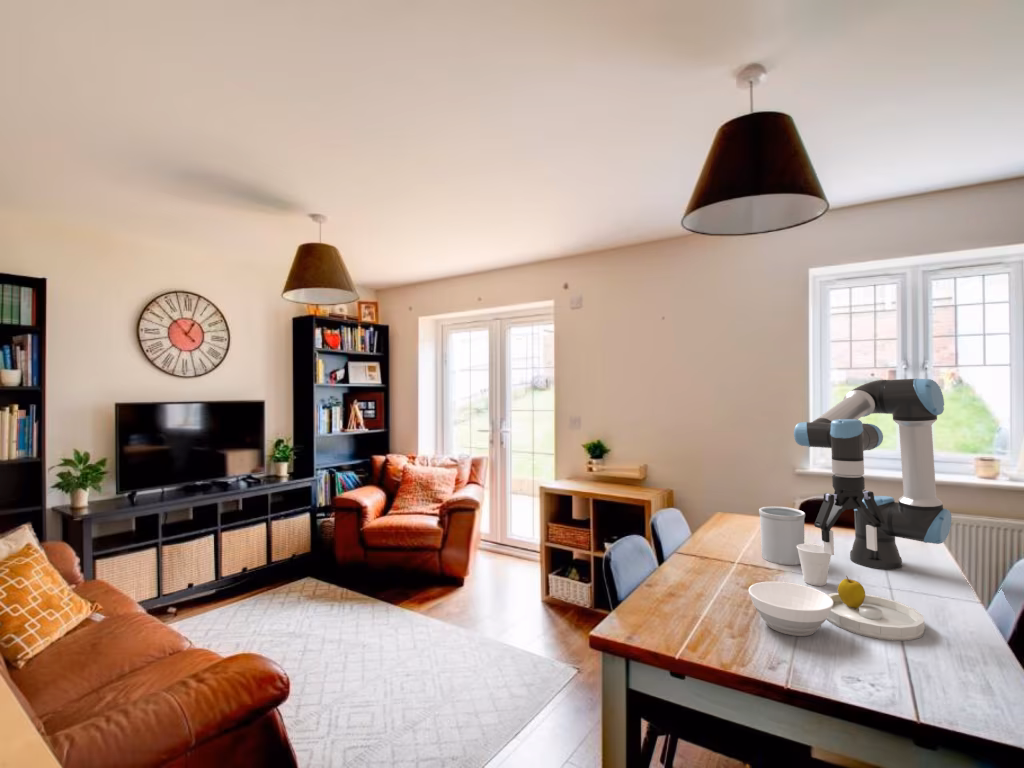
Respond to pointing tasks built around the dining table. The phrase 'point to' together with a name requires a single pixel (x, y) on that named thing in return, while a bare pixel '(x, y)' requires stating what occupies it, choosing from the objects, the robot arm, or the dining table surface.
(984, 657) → the dining table surface
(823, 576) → the cup
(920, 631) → the ring tray
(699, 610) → the dining table surface
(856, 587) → the apple
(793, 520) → the utensil holder
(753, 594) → the bowl
